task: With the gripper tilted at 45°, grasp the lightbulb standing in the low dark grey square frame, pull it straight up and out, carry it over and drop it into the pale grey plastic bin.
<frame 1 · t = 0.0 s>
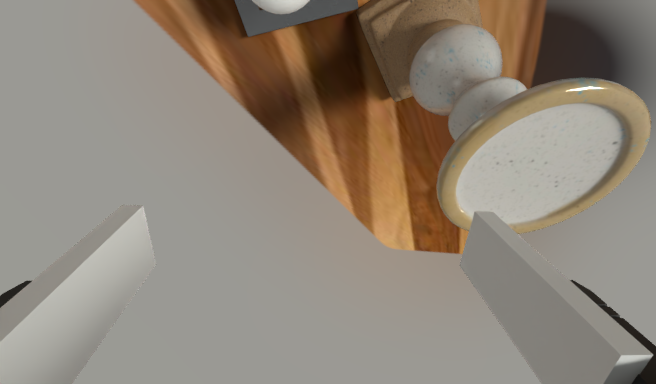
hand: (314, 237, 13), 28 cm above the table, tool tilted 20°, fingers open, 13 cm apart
candle holder: (420, 31, 34), on the table
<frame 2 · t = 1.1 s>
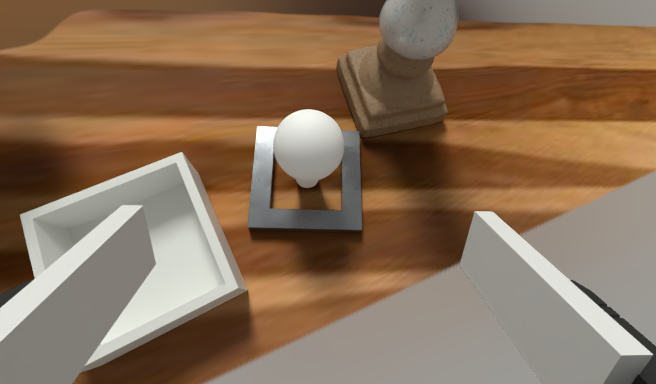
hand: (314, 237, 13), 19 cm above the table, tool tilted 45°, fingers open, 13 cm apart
dark grey square frame: (307, 180, 34), on the table
lightbulb: (307, 180, 35), resting in dark grey square frame
bin: (154, 259, 30), on the table
candle holder: (387, 94, 40), on the table
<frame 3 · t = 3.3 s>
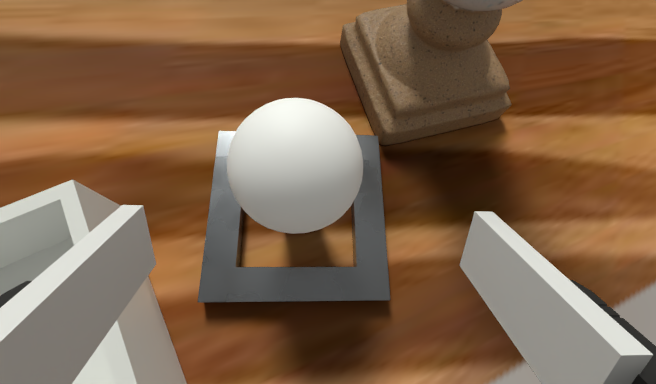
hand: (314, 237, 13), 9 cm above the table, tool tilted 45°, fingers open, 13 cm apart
dark grey square frame: (298, 214, 22), on the table
lightbulb: (298, 215, 22), resting in dark grey square frame
bin: (37, 362, 18), on the table
candle holder: (416, 80, 27), on the table
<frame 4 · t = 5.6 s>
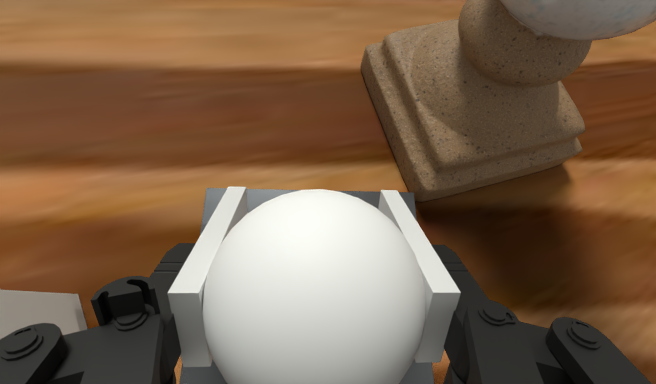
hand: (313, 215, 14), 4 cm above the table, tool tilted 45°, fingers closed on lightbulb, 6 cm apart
dark grey square frame: (310, 300, 16), on the table
lightbulb: (310, 300, 17), resting in dark grey square frame, touching gripper
candle holder: (455, 114, 22), on the table
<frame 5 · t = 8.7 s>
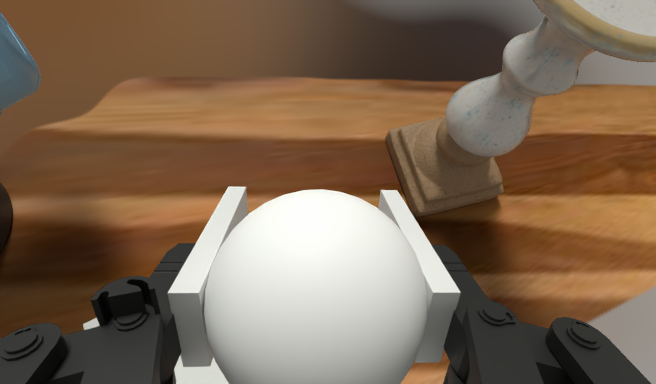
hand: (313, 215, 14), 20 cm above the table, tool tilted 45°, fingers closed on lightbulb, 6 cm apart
lightbulb: (311, 300, 17), point 16 cm above the table, touching gripper
bin: (210, 355, 30), on the table
candle holder: (438, 167, 38), on the table
when the fingers open (11 cm above the table, at t = 11.5 s): lightbulb drops 7 cm, resting on bin.
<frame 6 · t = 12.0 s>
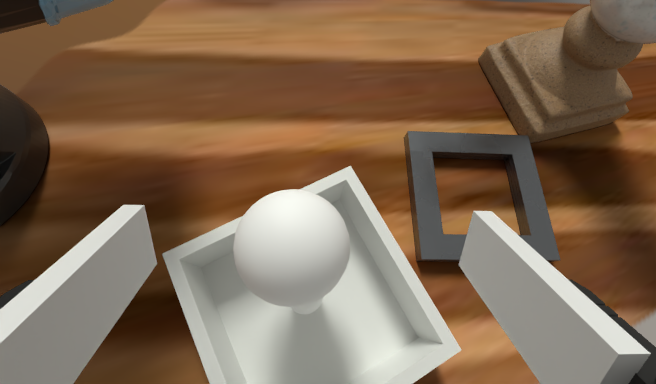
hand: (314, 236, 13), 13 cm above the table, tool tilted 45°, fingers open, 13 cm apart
dark grey square frame: (472, 196, 28), on the table
lightbulb: (306, 301, 23), point 1 cm above the table, touching bin
bin: (308, 302, 24), on the table
candle holder: (542, 91, 33), on the table
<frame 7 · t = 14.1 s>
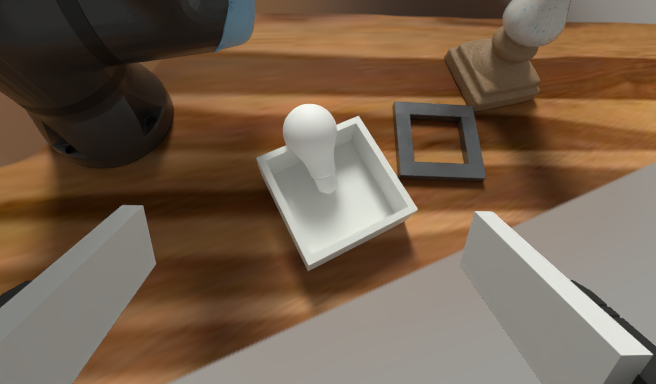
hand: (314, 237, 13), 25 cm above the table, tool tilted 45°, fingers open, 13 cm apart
dark grey square frame: (435, 142, 44), on the table
lightbulb: (330, 194, 39), point 1 cm above the table, touching bin
bin: (332, 198, 40), on the table
candle holder: (486, 78, 49), on the table
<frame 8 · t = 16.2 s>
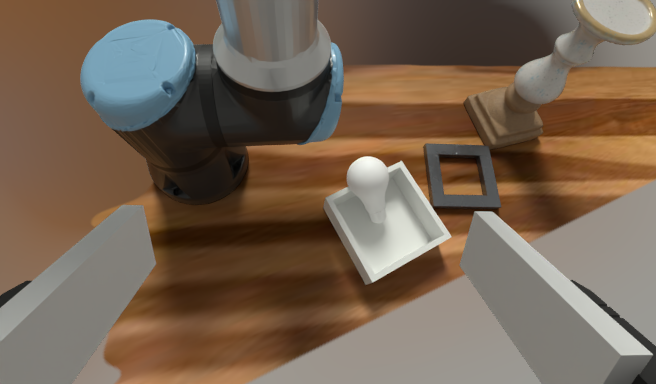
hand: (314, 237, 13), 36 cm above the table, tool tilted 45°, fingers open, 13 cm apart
dark grey square frame: (459, 177, 54), on the table
lightbulb: (380, 223, 49), point 1 cm above the table, touching bin
bin: (380, 225, 50), on the table
candle holder: (498, 120, 60), on the table
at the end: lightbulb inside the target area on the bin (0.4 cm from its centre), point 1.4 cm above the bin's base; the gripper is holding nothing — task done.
